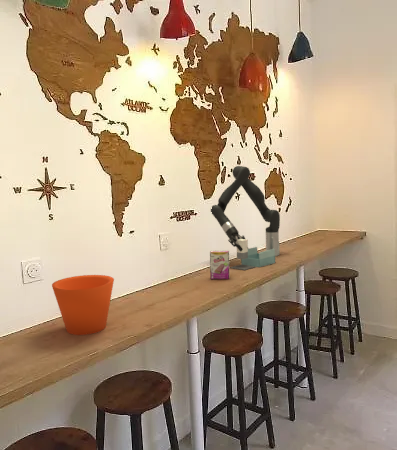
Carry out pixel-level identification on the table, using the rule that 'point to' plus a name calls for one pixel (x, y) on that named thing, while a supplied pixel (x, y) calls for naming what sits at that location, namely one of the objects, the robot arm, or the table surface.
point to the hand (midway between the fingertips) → (244, 249)
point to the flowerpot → (84, 302)
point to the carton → (259, 258)
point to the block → (244, 252)
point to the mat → (243, 267)
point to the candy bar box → (219, 264)
